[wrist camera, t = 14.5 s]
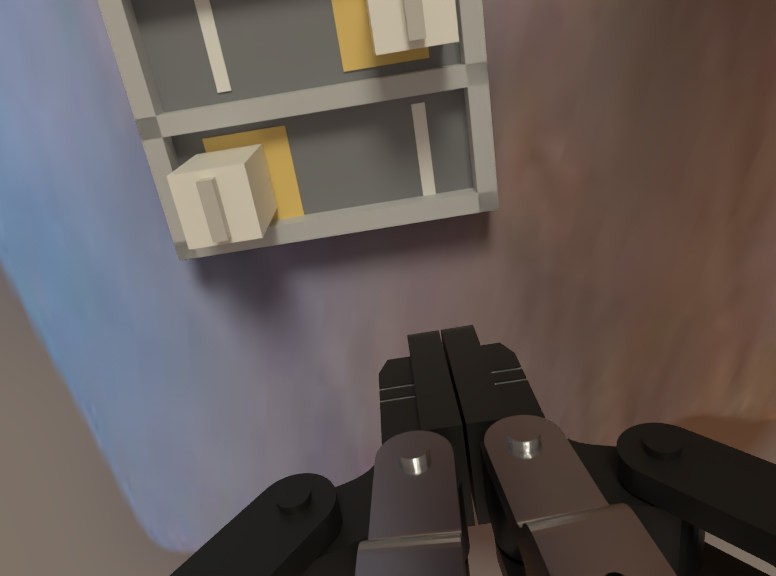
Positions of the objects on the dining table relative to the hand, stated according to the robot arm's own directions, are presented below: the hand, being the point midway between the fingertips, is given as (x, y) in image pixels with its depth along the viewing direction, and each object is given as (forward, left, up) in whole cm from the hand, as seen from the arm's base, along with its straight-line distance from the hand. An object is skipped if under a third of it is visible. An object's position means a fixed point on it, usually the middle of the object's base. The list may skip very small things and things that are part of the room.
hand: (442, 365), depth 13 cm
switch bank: (+4, -4, -26) cm, 27 cm away
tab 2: (-2, -8, -25) cm, 26 cm away
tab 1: (+10, 0, -25) cm, 26 cm away
